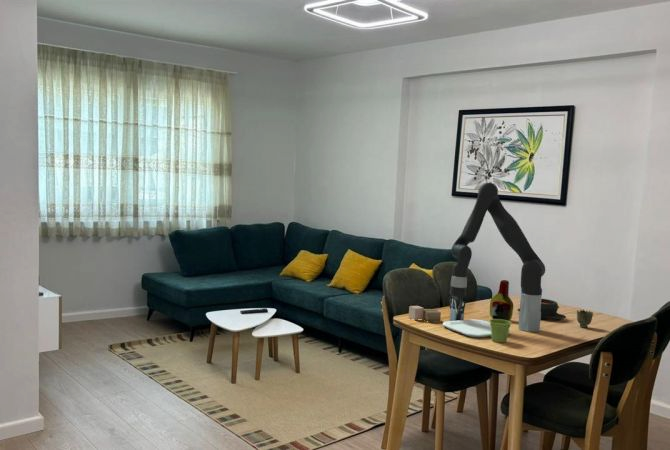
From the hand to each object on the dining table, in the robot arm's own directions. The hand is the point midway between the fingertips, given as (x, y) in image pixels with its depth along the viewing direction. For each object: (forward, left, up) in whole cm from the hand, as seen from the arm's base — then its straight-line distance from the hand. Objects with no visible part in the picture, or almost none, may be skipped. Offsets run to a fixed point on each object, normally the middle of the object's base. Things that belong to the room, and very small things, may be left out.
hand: (455, 319), depth 295 cm
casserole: (+11, -52, -1) cm, 54 cm away
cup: (-11, -62, -1) cm, 63 cm away
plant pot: (-34, -5, -1) cm, 34 cm away
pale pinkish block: (+5, +19, -1) cm, 19 cm away
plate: (-17, -3, -1) cm, 17 cm away
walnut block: (+2, +12, -1) cm, 12 cm away
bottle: (+5, -26, -1) cm, 27 cm away
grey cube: (0, 0, -1) cm, 1 cm away
